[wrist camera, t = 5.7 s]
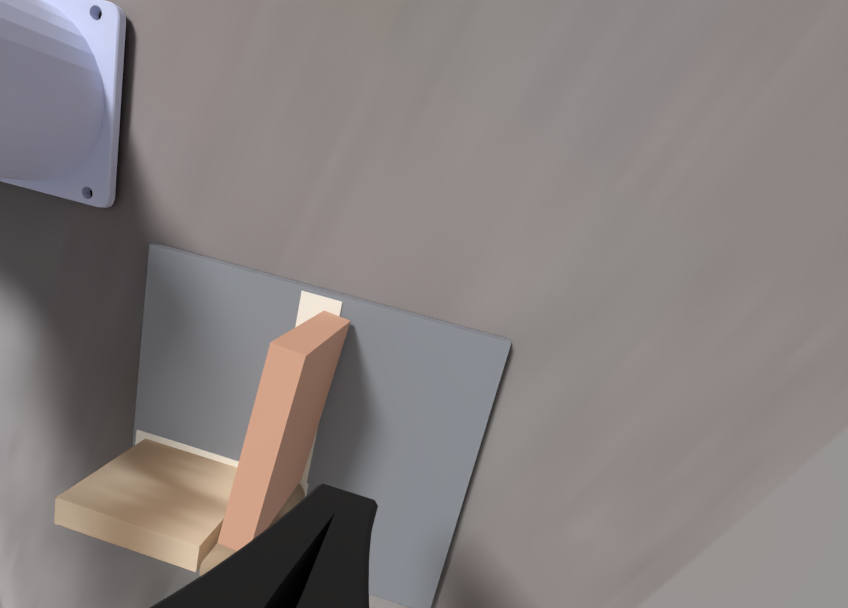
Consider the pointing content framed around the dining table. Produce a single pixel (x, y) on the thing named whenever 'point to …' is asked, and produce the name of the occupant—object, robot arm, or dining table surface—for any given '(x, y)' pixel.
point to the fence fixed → (158, 505)
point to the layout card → (345, 405)
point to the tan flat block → (282, 425)
